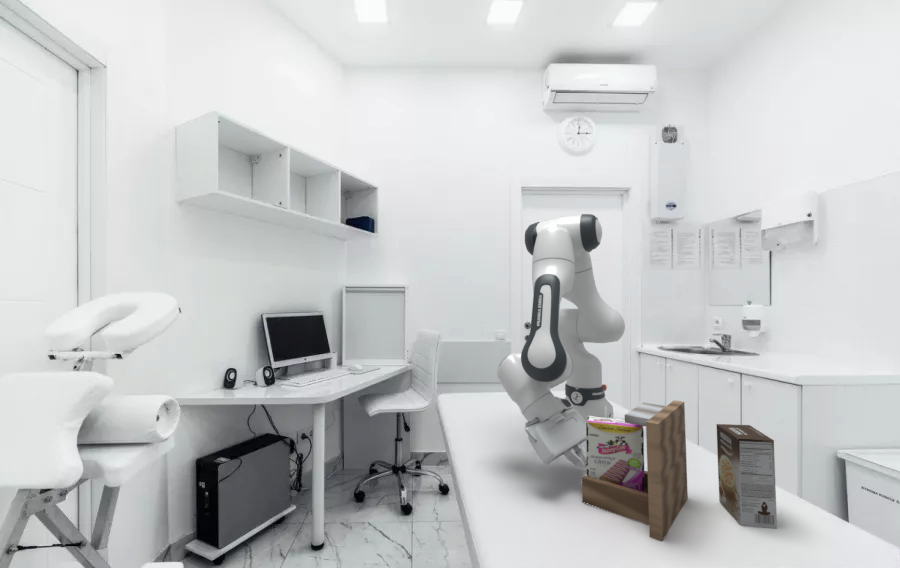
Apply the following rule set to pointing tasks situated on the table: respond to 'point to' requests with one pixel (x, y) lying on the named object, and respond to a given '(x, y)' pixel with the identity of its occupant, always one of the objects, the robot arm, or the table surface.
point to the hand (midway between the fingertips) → (585, 467)
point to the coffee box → (747, 475)
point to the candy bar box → (615, 452)
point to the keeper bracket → (650, 472)
